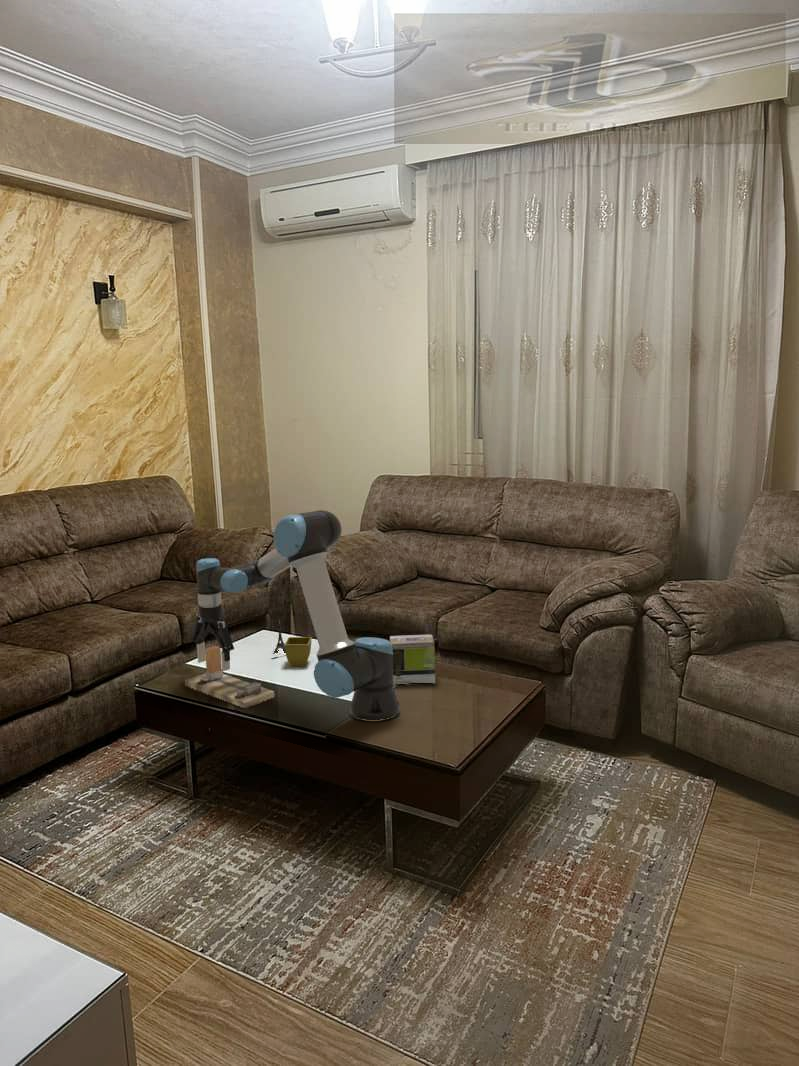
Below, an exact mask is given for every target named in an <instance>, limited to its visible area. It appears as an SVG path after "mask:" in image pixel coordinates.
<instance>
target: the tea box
mask: <svg viewBox="0 0 799 1066" xmlns="http://www.w3.org/2000/svg"><path fill="white" fill-rule="evenodd" d="M389 641H390V642H391V644H392V648H393V686H396V685H395V684H405V685H409V684H408V683H433V684H436V681H437V680H436V652H435V651H436V650H435V640H434V637H433V634H429V633H427V634H407V635H405V634H404V635H390V636H389Z"/></svg>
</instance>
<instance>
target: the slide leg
mask: <svg viewBox="0 0 799 1066" xmlns="http://www.w3.org/2000/svg"><path fill="white" fill-rule="evenodd" d="M221 652H222V648H221V647H220V646H217V645H212V646H209V647H205V656H206V661H205V669H206V671H205V672H204V674H205V675H206V676H204V675H203V674H199V676H200V682H201V683H202V682H204V680H207V679H208V680H211V681H212V680H215V679H218V678H221V677H223V674H224V671H222V659H221Z"/></svg>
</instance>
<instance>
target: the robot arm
mask: <svg viewBox="0 0 799 1066" xmlns="http://www.w3.org/2000/svg"><path fill="white" fill-rule="evenodd" d="M341 536H342V524H341V522H340V520H339V518H338V517H337V516H336V515H335V514H334V513H333V512H331V511H328V510H322V509H320V510H315V511H308V512H307V511H306V512H299V513H293V514H290V515H286V516H284V517H282V518H281V519H280V520H279V521H278V522H277V523H276V525H275V528H274V531H273V543H274V545H273V546H274V547H275V549H273V550H270V551H269V552H268V553H266V554H264V555H263V556H262V557H260V558H259V559H257V560H255V561H253V562H251V563H247V564H243V565H238V566H233V567H222V566H221V564H220V560H219V559H218V558H213V557H212V558H211V557H209V558H208V557H207V558H201V559H199V560H197V562H196V572H195V573H196V582H197V583H196V585H197V602H198V615H197V616H196V617H195V625H194V628H193V633H192V636H191V640H192V641H193V642H194V643H195V644H196V652H197V663H198V664H200V663H203V662H206V654H205V648H206V645H205V638H206V637H207V635H208V633H211V634H212V635H213V636H214V637H215V638H216V641H217V643H218V645H219V647H220V649H221V666H222V671H223V672H225V671H229V670H231V651H233V650H235V647H234V644H233V641H232V636H231V635H230V632H229V629H228V623H227V621H226V620H225V621H221V617H222V615H223V605H222V604H221V603H222V592H226V593H230V594H239V593H242V592H243V591H244V590H245V589H247V588H249V587H253V586H258V585H262V584H267V583H269V582H272V581H273V580H275V578H276V576H277V575H279V574H280V573H282V572H283V571H286V570H287V569H290V567H293V568H294V569H296V573H297V576H298V579H299V584H300V586H301V590H302V593H303V597H304V599H305V603H306V606H307V610H308V614H309V616H310V619H311V623H312V626H313V629H314V632H315V633H314V634H315V636H316V640H317V643H318V645H319V646H318V647H319V649H318V650H317V653H316V658H317V661H318V662H316V664H315V665H314V670H313V679H314V681H315V683H316V685H317V687H318V688H319V690H320V691H321V692H322V693H324V694H325V695H326V696H328V697H331V698H336V699H337V698H341V697H344V696H348V695H350V694H351V693H353V695H352V699H351V702H350V705H349V706H350V707H349V713H350V716H351V717H352V718H354V717H356V718H359V719H366V720H380V719H387V718H391V717H393V716H395V715H397V714H398V713H399V714H400V712H401V711H400V710H401V709H400V706H401V705H400V703H399V700H398V699H397V698H398V697H397V695H396V690H395V687H394V685H393V648H392V644H391V642H390V640H388V639H384V638H380V637H370V636H367V637H366V636H365V637H358V638H356V639H355V640H354V641H353V640H351V639H349V637H348V634H347V631H346V627H345V624H344V621H343V617H342V614H341V610H340V607H339V604H338V601H337V600H338V599H337V598H336V595H335V591H334V588H333V584H332V581H331V578H330V575H329V571H328V567H327V564H326V561H325V559H326V557H327V556H328V550H327V549H329V548H331V547H333V546H335V544H337V543H338V541H339V540H340V538H341ZM399 711H400V712H399ZM399 714H398V715H399ZM398 715H397V716H398Z"/></svg>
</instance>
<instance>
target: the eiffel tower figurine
mask: <svg viewBox="0 0 799 1066" xmlns="http://www.w3.org/2000/svg"><path fill="white" fill-rule="evenodd" d="M280 621H281V620H280V619H279V622H278V638H277V644H276V645H275V646H276V647H275V649H274V650H275V651H274V650H273V652H274V653H273V652H272V654H273V655H276V654H275V653H278V651H279V650H278V649H283V651H284V653H286V651H285V643H286V642H284V640H283V637H282V629H281V622H280ZM277 650H278V651H277Z"/></svg>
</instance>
